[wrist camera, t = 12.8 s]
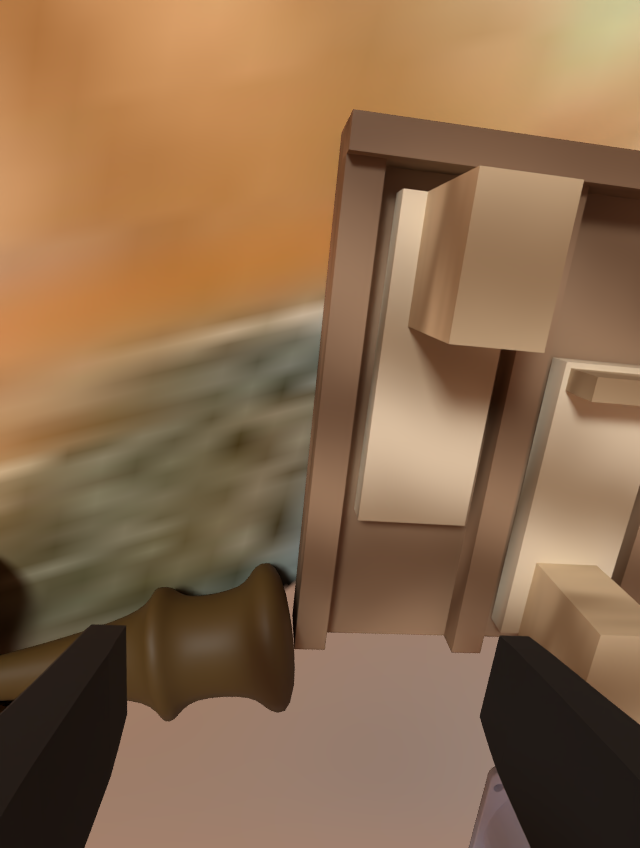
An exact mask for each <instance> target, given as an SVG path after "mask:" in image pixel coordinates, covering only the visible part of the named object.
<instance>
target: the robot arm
mask: <svg viewBox="0 0 640 848" xmlns="http://www.w3.org/2000/svg"><path fill="white" fill-rule="evenodd" d="M126 716H127V653H126V625H91V626H89V627H88V628H87V629H86V630H85V631H84V632H83V633H82V634H81V635H80V636H79V637H78V638H77V639H76V640H75V641H74V642H73V643H72V644H71V645H70V646H69V647H68V648H67V649H66V650H65V651H64V652H63V653H62V654H61V655H60V656H59V657H58V658H57V659H56V660H55V661H54V662H53V663H52V664H51V665H50V666H49V667H48V668H47V669H46V670H45V671H44V672H43V673H42V674H41V675H40V676H39V677H38V678H37V679H36V680H35V681H34V682H33V683H32V684H31V685H30V686H29V687H28V688H26V689H25V690H24V691H23V692H22V693H21V694H20V695H19V696H18V697H17V698H16V699H15V700H14V701H13V702H12V703H11V704H10V705H9V706H7V707H6V708H5V709H4V710H3V711H2V712H1V713H0V848H84V847H85V844H86V842H87V839H88V836H89V834H90V831H91V828H92V825H93V823H94V820H95V818H96V815H97V812H98V809H99V807H100V804H101V801H102V798H103V796H104V793H105V790H106V788H107V785H108V782H109V779H110V777H111V773H112V770H113V766H114V762H115V758H116V755H117V751H118V747H119V744H120V740H121V736H122V732H123V728H124V724H125V720H126ZM480 719H481V722H482V726H483V729H484V732H485V736H486V739H487V742H488V745H489V749H490V752H491V755H492V757H493V761H494V763H495V767H493V768H492V769H491V770H490V771H489V773H488V777H487V781H486V784H485V788H484V792H483V795H482V799H481V803H480V807H479V811H478V814H477V818H476V822H475V826H474V830H473V834H472V837H471V842H470V845H469V848H640V724H638V723H637V722H636V721H635V720H633V719H632V718H631V717H630V716H628V715H627V714H626V713H625V712H623V711H622V710H621V709H620V708H618V707H617V706H616V705H615V704H613V703H612V702H611V701H610V700H608V699H607V698H606V697H605V696H603V695H602V694H601V693H600V692H598V691H597V690H596V689H595V688H594V687H592V686H591V685H590V684H589V683H587V682H586V681H585V680H584V679H582V678H581V677H580V676H579V675H578V674H576V673H575V672H574V671H573V670H571V669H570V668H569V667H568V666H567V665H565V664H564V663H563V662H562V661H560V660H559V659H558V658H557V657H555V656H554V655H553V654H552V653H550V652H549V651H548V650H547V649H545V648H544V647H543V646H541V645H540V644H539V643H537V642H536V641H535V640H533V639H532V638H531V637H529V636H507V635H500V636H499V640H498V644H497V648H496V652H495V657H494V660H493V664H492V669H491V672H490V677H489V681H488V685H487V689H486V693H485V697H484V701H483V705H482V709H481V713H480Z"/></svg>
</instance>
